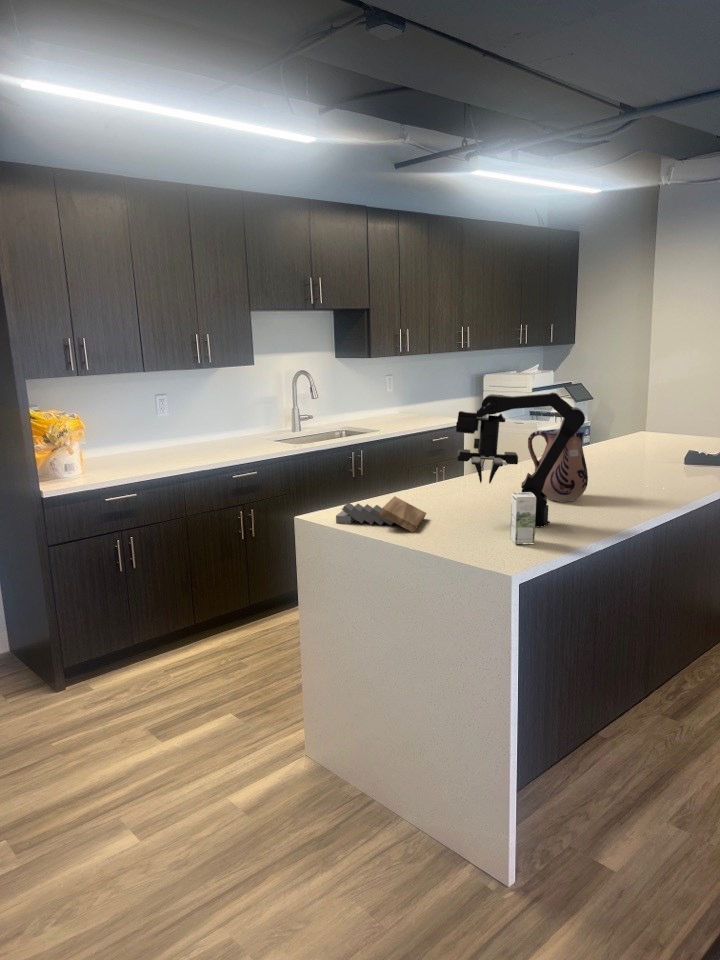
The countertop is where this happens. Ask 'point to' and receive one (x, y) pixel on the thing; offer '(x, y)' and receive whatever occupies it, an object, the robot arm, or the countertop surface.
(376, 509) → the domino
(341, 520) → the block
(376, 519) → the domino
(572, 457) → the ceramic pitcher
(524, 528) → the syrup box
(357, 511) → the domino
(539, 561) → the countertop surface
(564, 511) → the countertop surface
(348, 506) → the domino
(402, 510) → the board
